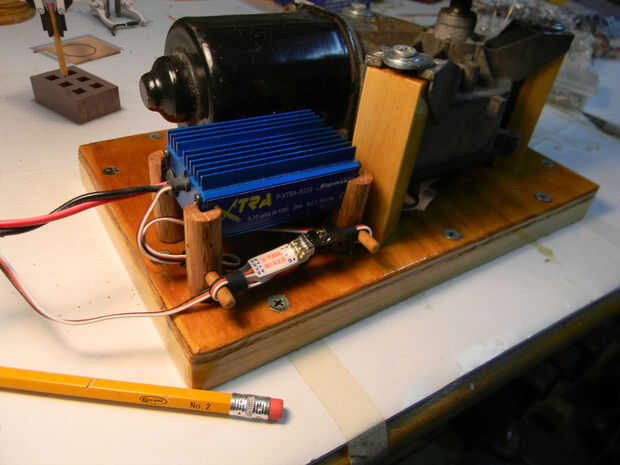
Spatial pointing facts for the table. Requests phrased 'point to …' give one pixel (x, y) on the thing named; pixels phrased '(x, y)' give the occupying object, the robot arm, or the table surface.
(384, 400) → the table surface
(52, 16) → the pencil
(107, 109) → the stand
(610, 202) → the table surface
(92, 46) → the pad
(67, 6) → the robot arm
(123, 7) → the bike brake
